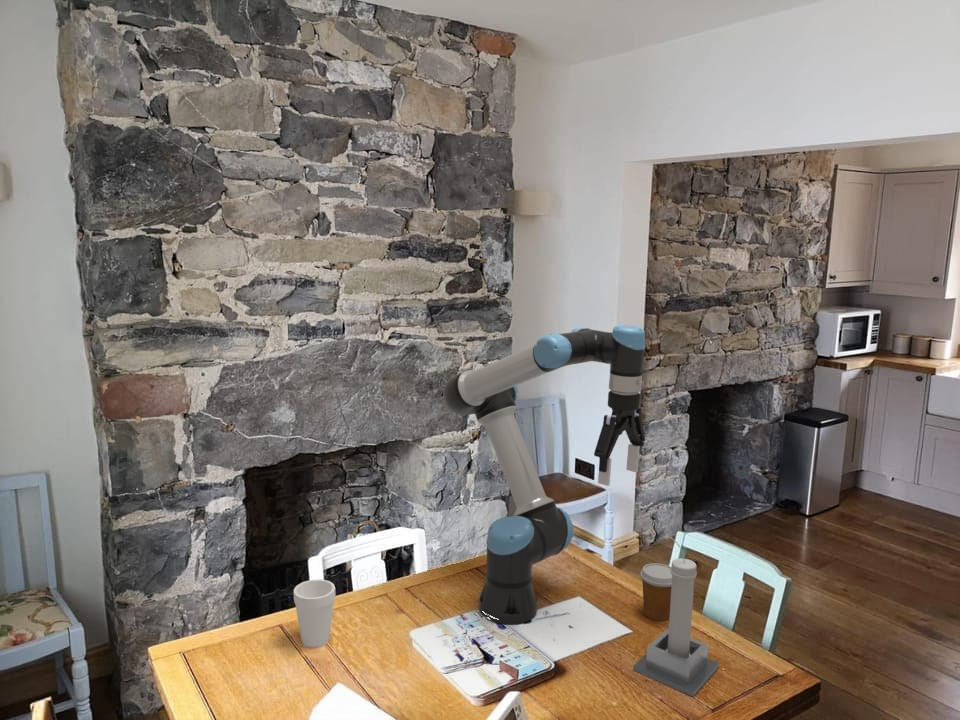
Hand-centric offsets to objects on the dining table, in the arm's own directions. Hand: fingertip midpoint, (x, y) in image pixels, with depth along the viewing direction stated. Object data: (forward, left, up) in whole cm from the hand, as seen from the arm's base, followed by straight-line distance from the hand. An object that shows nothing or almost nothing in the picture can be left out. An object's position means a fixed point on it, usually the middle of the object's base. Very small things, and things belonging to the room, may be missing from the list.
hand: (618, 477), depth 170 cm
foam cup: (-48, -54, -39) cm, 82 cm away
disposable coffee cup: (+7, +12, -39) cm, 41 cm away
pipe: (+21, -7, -37) cm, 43 cm away
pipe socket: (+21, -7, -38) cm, 44 cm away
